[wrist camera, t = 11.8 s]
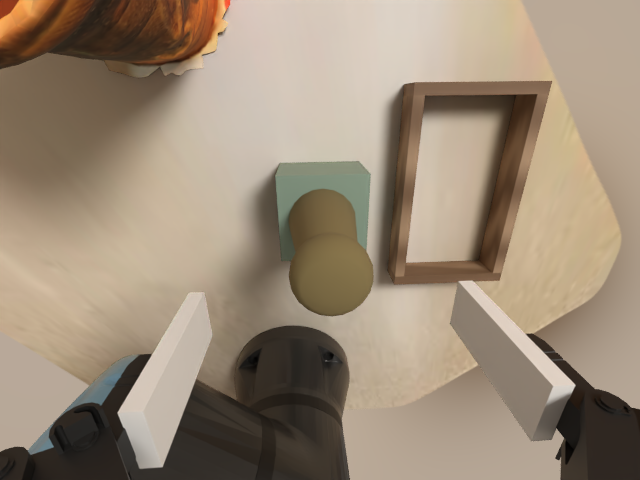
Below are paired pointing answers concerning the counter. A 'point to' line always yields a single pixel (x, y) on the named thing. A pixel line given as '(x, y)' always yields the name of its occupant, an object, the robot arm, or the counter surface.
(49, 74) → the counter surface
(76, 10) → the vessel
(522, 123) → the wooden frame
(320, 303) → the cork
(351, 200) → the stand
